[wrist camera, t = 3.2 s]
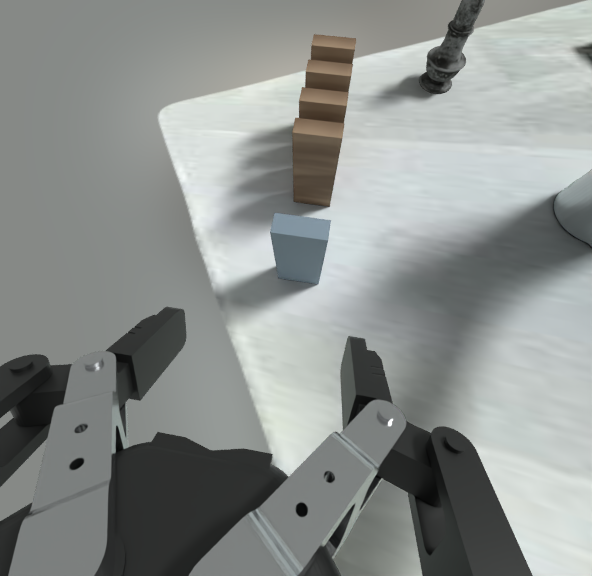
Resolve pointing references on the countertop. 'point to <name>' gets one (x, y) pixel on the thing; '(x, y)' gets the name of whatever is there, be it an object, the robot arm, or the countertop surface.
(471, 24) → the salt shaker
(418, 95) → the countertop surface
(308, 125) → the domino
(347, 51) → the domino
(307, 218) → the blue domino
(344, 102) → the domino
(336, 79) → the domino
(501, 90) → the countertop surface
